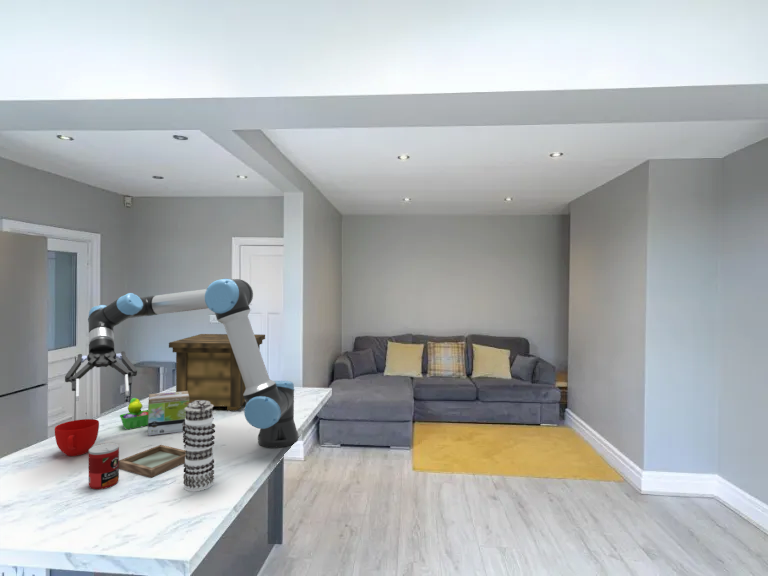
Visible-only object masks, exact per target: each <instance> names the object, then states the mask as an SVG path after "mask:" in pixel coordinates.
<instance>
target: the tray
mask: <svg viewBox="0 0 768 576" xmlns="http://www.w3.org/2000/svg"><path fill="white" fill-rule="evenodd" d="M185 456H186V450H185V449H180V448H178V447H177V448H176V447H172V446H167V445H164V444H159V445H157V446H153V447H151V448H148V449H146V450H142V451H141V452H139V453H136V454H132V455H130V456H127V457H125V458H122V459H119V470H123V471H126V472H130V473H132V474H133V473H134V474H136V475H141V476H144V477H148V478H150V479H151V478H154V477H156V476H158V475H161V474H163V473H165V472H167V471H170V470H172V469H174V468H177V467H178V466H181V465H184V463H185Z"/></svg>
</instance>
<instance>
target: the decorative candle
mask: <svg viewBox="0 0 768 576" xmlns="http://www.w3.org/2000/svg"><path fill="white" fill-rule="evenodd" d="M214 407H215V406H214V405H212V404H211V403H210V402H209V401H207V400H197V401H193V402H191V403H189V404H188V406H187V407H186V408H185V410H186V418H185V421H184V422H182V423H183V424H182V425H183V429H182V430H183V431H184V432H183V433H182V438H183V439H182V443H183V444H184V445H183V450H186V456H185V463H183V473H184V474H183V477H182V478H183V483H182V484H183V489H184V490H185V491H187V492H199V491H200V490H201V491H204V489H205V490H207V489H209V488H211V487H213V485H214V483H215V470H214V468H215V465H214V463H215V459H214V453H213V447H214V445H215V441H214V440H215V436H214V434H215V433H216V430H215V429H214V428H216V425H215V424H214V423H213V422H214V419H215V418H214V414H213V408H214ZM185 428H186V430H185Z"/></svg>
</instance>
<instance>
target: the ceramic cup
mask: <svg viewBox="0 0 768 576" xmlns="http://www.w3.org/2000/svg"><path fill="white" fill-rule="evenodd" d="M99 429H100V421H99V420H98V419H93V418H85V419H84V418H83V419H76V420H69V421H66V422H63V423H60V424H57V425H56V426H55V427H54V438H55V442H56V444H57V445H56V446H57V447H58V449H59V451H61V452H62V453H63V454H65V456H67V457H76V456H77V457H78V456H81V455H85V454H87V453H89V449H90V448H92V447H94V446H95V445H94V444H95V443H96V441H97V438H98V435H99Z"/></svg>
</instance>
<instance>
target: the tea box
mask: <svg viewBox="0 0 768 576" xmlns="http://www.w3.org/2000/svg"><path fill="white" fill-rule="evenodd" d="M147 402H148V404H147V405H148V407H147V410H148V426H147V436H148V437H149V436H154V435H155V436H157V435H163V434H173V433H181V432H183V430H182V429H183V425H182V424H183V423H182V422H184V421H185V418H186V410H185V408H186V407H187V406H188V404H189V394H188V391H182V392H176V391H172V392H170V391H169V392H160V393H159V392H158V393H149V394H148V401H147ZM185 430H186V428H185ZM183 433H184V432H183Z"/></svg>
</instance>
